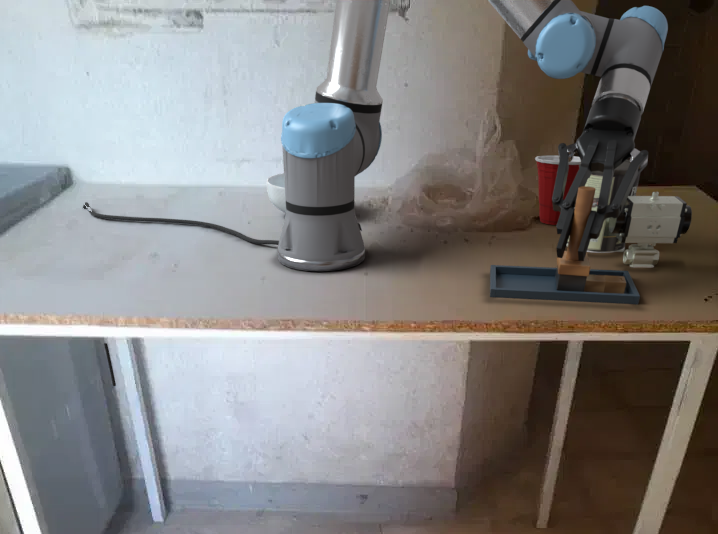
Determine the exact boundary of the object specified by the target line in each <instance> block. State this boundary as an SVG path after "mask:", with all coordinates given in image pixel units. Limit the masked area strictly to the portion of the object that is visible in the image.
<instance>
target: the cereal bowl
mask: <svg viewBox="0 0 718 534" xmlns="http://www.w3.org/2000/svg"><path fill="white" fill-rule="evenodd" d="M266 192H267V196H268V200H269V201H270V203H271V204H272V205H273V206H274V208H276V209H277V210H279V211H281V212H283V213H285V214H286V199H285V182H284V172H282V173H277V174H273V175H271V176H269V177H268V178H267V179H266Z"/></svg>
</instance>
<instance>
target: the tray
mask: <svg viewBox="0 0 718 534" xmlns="http://www.w3.org/2000/svg"><path fill="white" fill-rule="evenodd" d="M556 268H557V267H549V266H548V267H547V266H527V265H526V266H524V265H522V266H521V265H505V264H503V265H501V264H497V265H496V264H490V268H489V298H497V299H498V298H502V299H520V300H539V301H540V300H543V301H558V302H559V301H562V302H577V303H578V302H580V303H581V302H582V303H601V304H618V305H619V304H622V305H639V304H640V299H641V295H640V293H639V291H638V289H637V287H636V285H635V283H634V281H633V278H632V276H631V274H630V271H629V270H617V269H598V268H597V269H596V268H595V269H593V268H590V272H589V275H609V276H624V277H625V280H626V287H625V291H624V294H620V293H598V292H577V291H558V290H557V289H556V279H555V274H556Z"/></svg>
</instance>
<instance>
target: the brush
mask: <svg viewBox="0 0 718 534" xmlns="http://www.w3.org/2000/svg"><path fill="white" fill-rule="evenodd" d="M595 190H596V189H595V188H593V187H587V186H582V187H579V188H578V193H577V199H576V204H575V210H574V215H573V221H572V226H571V232H570V237H569V243H568V247H566V250H565V252H564V255H563V258H557V257H556V267H555V268H556V274H555V279H556V289H557V290H558V291H577V292H584V289H585V284H586V279H587V276H589V272H590V269H591V263H590V259H589V255H588V252H586V255H585V258H584V261H578V249H579V246H580V243H581V240H582V237H583V234H584V230H585V227H586V224H587V221H588V218H589V215H590V212H591V210H592V205H593V200H594V195H595Z"/></svg>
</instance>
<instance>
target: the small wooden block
mask: <svg viewBox="0 0 718 534" xmlns="http://www.w3.org/2000/svg"><path fill="white" fill-rule="evenodd" d="M604 278H605V287H604V292H603V293H620V294H624V291H625V287H626V280H625V277H624V276H609V275H604Z"/></svg>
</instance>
